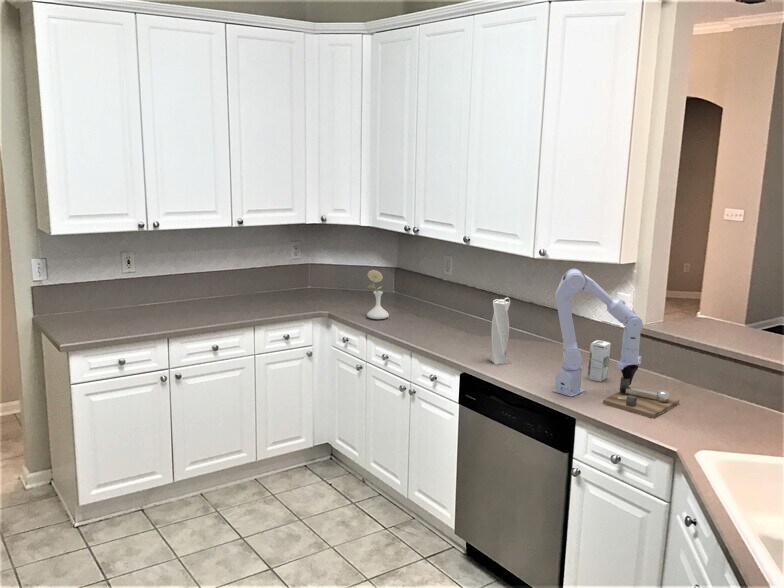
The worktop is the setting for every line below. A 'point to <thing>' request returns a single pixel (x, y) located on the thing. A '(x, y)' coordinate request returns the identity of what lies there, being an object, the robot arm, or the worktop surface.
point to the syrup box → (599, 360)
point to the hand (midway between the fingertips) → (627, 384)
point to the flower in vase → (377, 310)
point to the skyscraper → (500, 331)
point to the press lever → (643, 391)
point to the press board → (640, 404)
